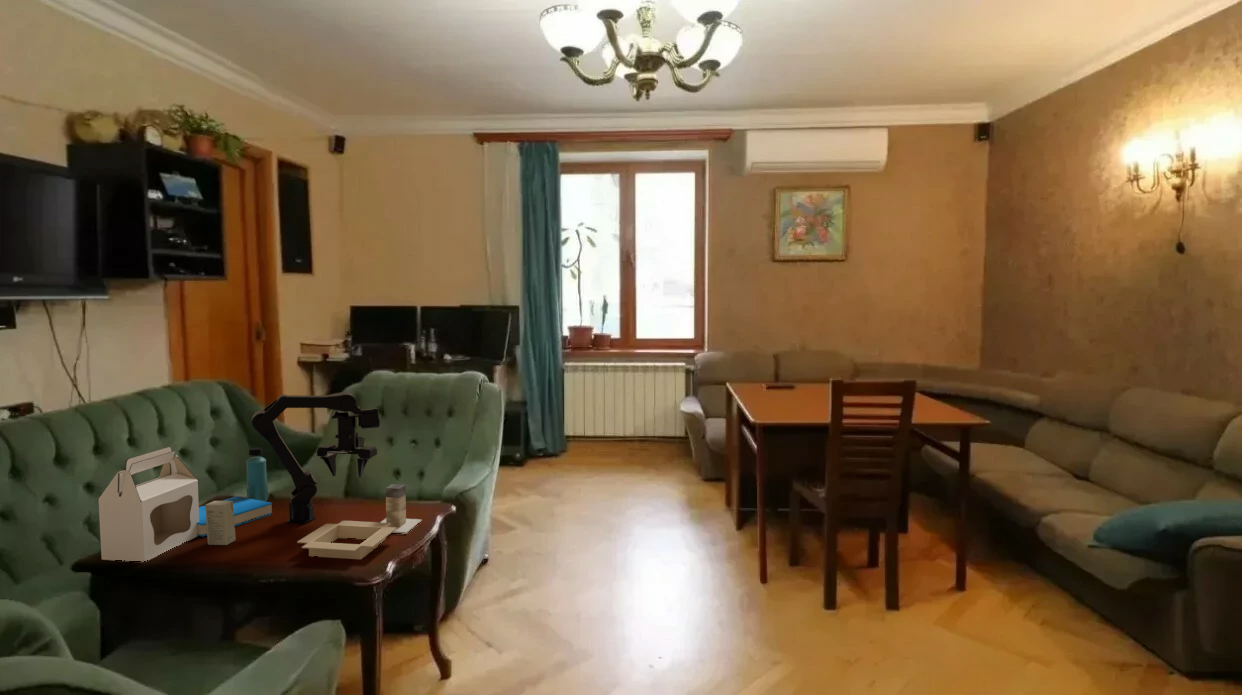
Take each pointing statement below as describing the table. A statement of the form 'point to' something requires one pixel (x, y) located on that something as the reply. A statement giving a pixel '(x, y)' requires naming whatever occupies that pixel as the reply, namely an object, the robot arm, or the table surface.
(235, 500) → the book
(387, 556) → the table surface
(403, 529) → the white square tile
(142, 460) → the gable box
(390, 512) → the capped block
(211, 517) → the skincare box
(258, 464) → the beverage bottle
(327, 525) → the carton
